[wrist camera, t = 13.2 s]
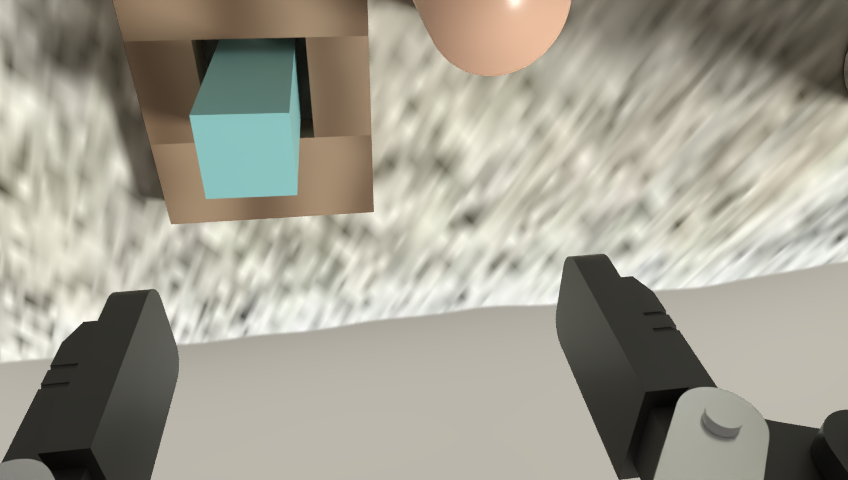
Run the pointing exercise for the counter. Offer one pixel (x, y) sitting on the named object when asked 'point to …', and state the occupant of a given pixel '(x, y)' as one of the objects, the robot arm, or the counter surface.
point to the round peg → (493, 31)
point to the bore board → (319, 137)
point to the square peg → (249, 120)
